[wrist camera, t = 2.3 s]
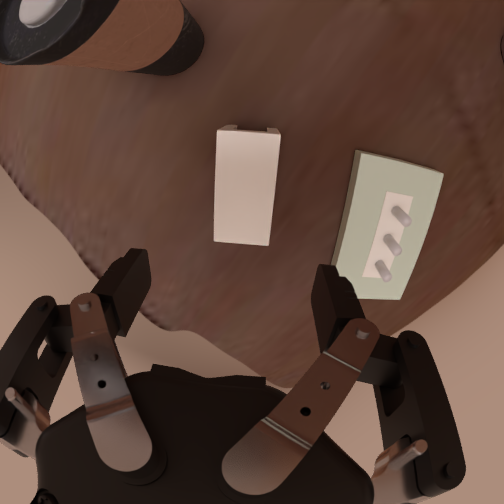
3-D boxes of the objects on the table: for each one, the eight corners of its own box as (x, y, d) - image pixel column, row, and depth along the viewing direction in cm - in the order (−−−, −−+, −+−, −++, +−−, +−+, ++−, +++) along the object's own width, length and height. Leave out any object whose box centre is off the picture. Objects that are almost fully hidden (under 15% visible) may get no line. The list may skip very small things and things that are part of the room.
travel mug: (147, 15, 19) (17, -42, 1) (214, 17, 19) (136, -91, 2) (131, 76, 22) (-24, 79, 5) (197, 81, 23) (73, 53, 6)
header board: (355, 149, 26) (372, 159, 22) (435, 169, 26) (458, 182, 22) (324, 287, 35) (331, 312, 31) (394, 290, 35) (407, 314, 31)
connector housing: (227, 124, 26) (217, 130, 20) (276, 128, 26) (280, 134, 20) (223, 213, 31) (213, 241, 25) (267, 217, 31) (268, 245, 25)
